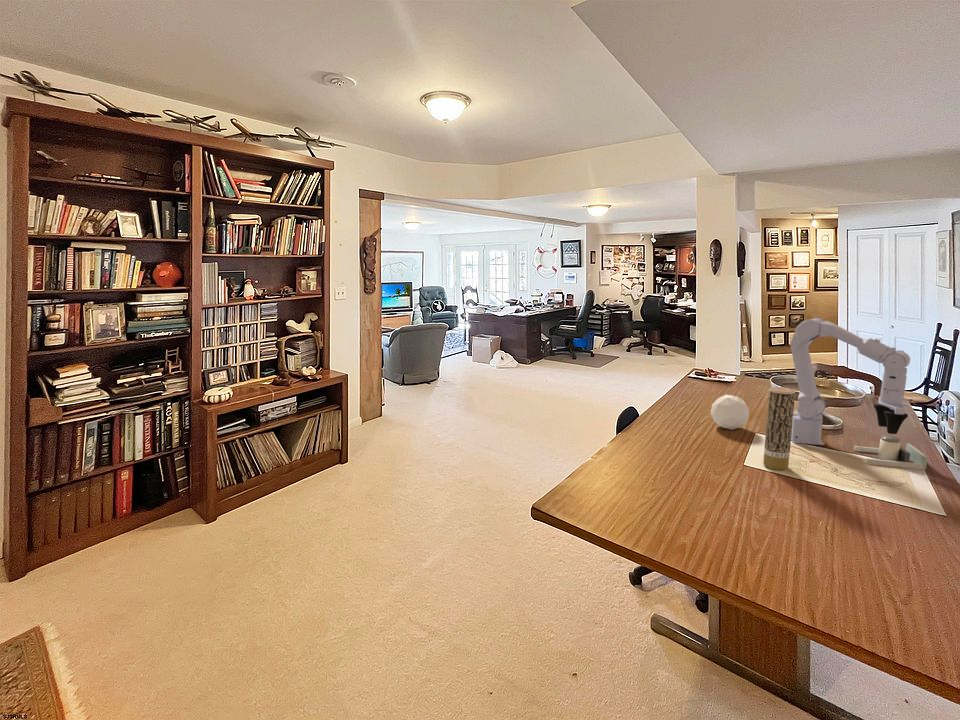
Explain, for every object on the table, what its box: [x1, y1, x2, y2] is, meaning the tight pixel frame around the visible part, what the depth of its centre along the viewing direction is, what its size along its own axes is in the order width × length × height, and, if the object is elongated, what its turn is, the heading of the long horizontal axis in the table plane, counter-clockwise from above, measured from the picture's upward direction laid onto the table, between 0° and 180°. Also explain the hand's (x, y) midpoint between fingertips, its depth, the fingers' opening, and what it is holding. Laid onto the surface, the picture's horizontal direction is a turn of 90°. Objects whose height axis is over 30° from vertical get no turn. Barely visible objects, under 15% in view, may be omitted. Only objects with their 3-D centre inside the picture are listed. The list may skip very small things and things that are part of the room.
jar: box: [877, 435, 902, 461], centre depth 156 cm, size 5×5×7 cm
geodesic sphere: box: [710, 393, 750, 431], centre depth 191 cm, size 14×14×14 cm
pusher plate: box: [898, 445, 910, 462], centre depth 155 cm, size 1×10×4 cm, turn 158°
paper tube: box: [762, 386, 796, 471], centre depth 151 cm, size 7×7×25 cm
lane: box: [853, 443, 929, 470], centre depth 156 cm, size 15×13×4 cm
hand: (887, 429), depth 157 cm, fingers open, 7 cm apart
